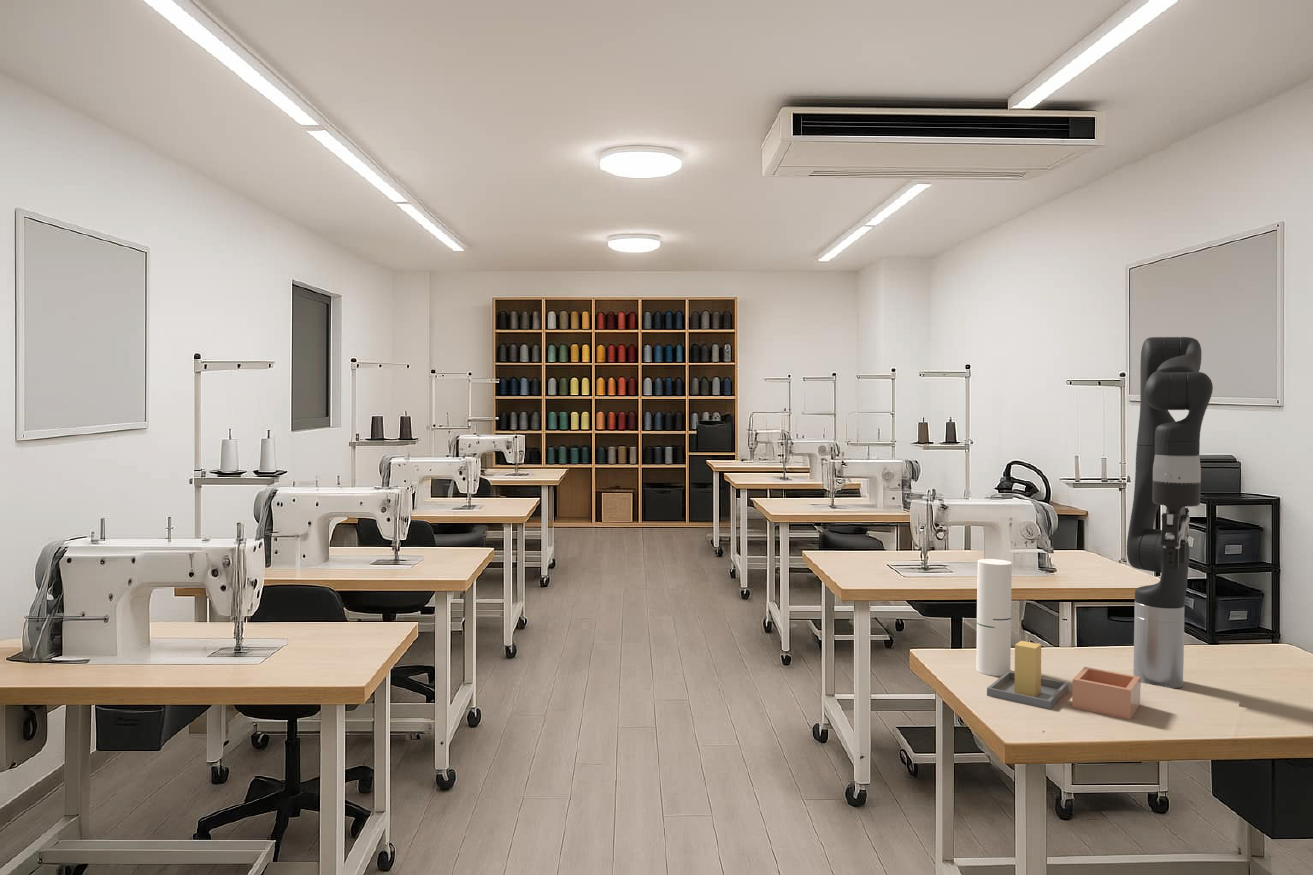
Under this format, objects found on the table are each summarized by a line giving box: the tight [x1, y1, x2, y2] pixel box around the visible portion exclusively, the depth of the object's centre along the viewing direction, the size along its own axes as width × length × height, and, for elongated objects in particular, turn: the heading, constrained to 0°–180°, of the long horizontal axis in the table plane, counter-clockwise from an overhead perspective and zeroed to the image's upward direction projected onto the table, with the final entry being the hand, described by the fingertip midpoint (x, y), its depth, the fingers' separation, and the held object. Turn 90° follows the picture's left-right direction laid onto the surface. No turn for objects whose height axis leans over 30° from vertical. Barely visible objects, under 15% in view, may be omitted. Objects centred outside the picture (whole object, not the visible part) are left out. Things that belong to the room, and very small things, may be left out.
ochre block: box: [1014, 640, 1042, 697], centre depth 166 cm, size 4×4×10 cm
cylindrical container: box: [975, 558, 1013, 677], centre depth 183 cm, size 7×7×25 cm
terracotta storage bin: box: [1071, 666, 1142, 720], centre depth 159 cm, size 10×10×6 cm
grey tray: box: [986, 670, 1069, 710], centre depth 166 cm, size 14×12×2 cm
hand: (1174, 565), depth 151 cm, fingers open, 8 cm apart
